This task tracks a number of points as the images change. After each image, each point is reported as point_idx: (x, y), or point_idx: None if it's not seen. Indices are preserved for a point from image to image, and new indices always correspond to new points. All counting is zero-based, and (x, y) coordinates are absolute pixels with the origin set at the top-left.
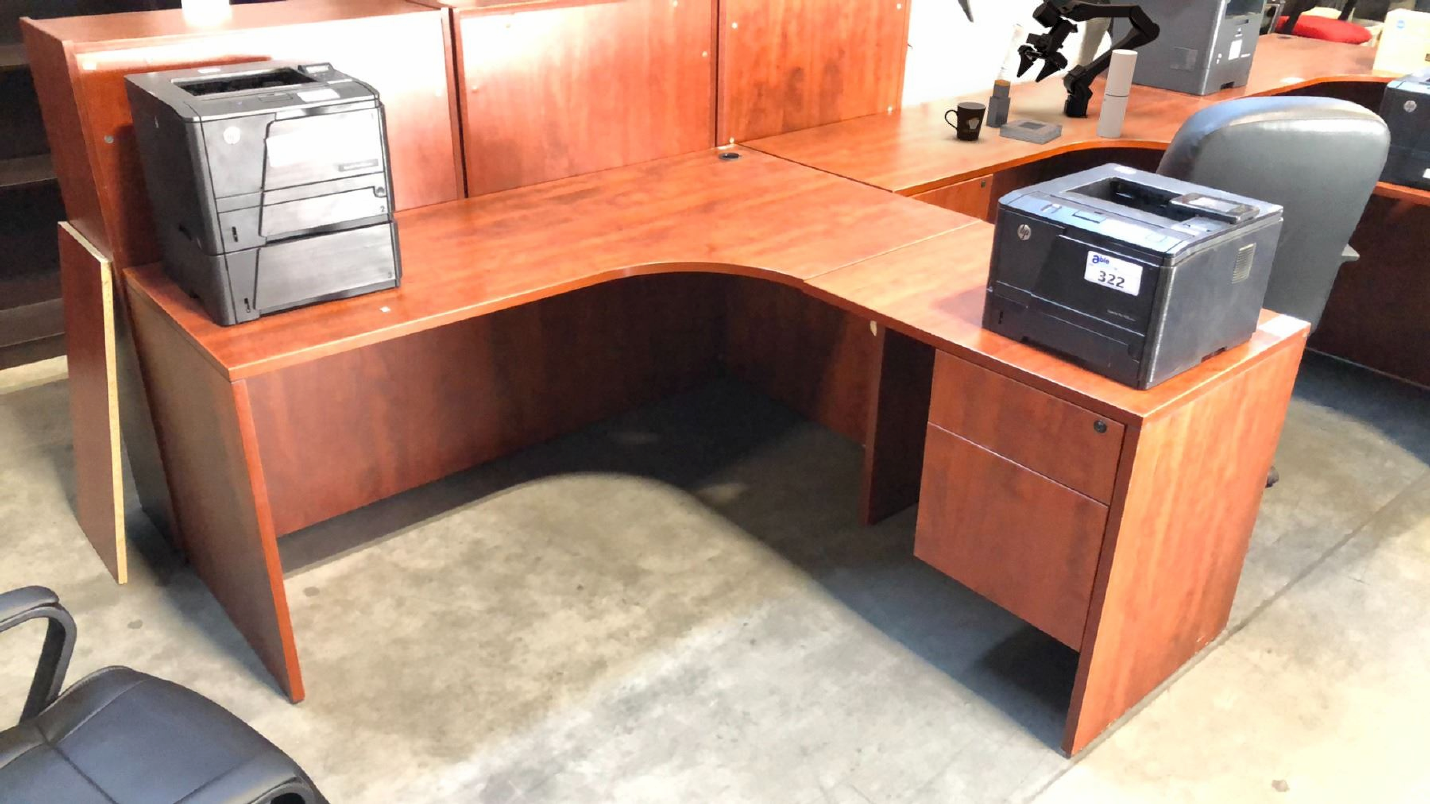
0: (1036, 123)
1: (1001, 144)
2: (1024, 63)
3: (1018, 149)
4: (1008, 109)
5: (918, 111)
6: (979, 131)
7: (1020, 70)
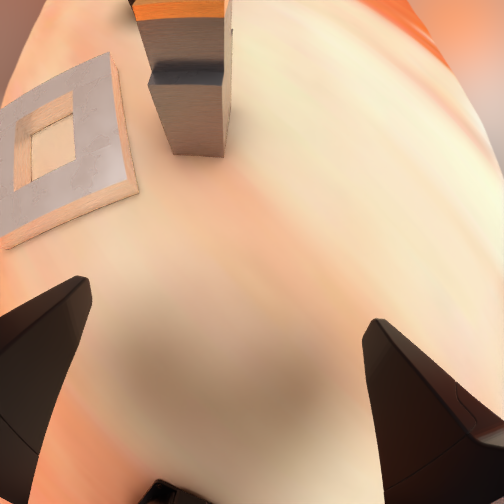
0: (44, 175)
1: (75, 43)
2: (440, 440)
3: (33, 59)
4: (161, 117)
5: (438, 86)
6: (129, 2)
7: (400, 364)
